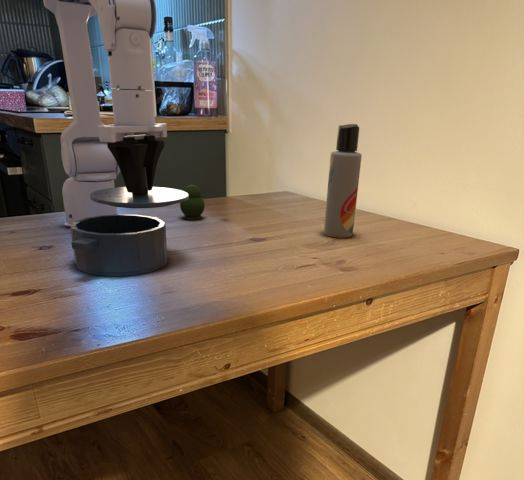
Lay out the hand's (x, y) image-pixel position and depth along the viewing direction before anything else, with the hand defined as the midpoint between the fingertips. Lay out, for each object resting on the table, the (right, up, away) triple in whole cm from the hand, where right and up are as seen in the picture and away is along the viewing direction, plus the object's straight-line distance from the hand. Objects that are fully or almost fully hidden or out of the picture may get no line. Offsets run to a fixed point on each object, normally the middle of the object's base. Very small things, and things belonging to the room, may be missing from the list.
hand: (139, 191), depth 75 cm
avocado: (+3, +5, +32) cm, 33 cm away
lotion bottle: (+34, -1, +23) cm, 41 cm away
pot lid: (0, -1, 0) cm, 1 cm away
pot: (-3, -10, +2) cm, 11 cm away
